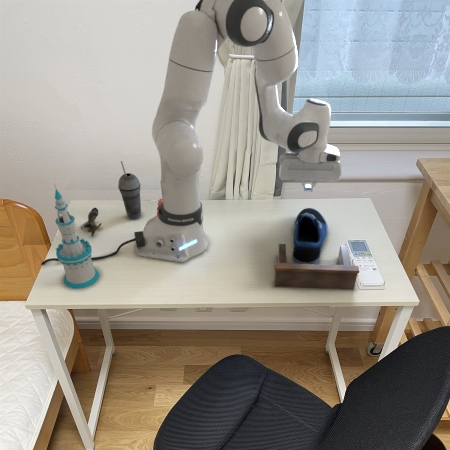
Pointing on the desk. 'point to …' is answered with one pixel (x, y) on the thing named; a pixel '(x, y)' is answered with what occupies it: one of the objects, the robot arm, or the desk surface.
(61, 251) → the model tower
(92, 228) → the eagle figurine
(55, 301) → the desk surface
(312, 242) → the shoe
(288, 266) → the wooden u-shaped bracket
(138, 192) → the beverage cup
